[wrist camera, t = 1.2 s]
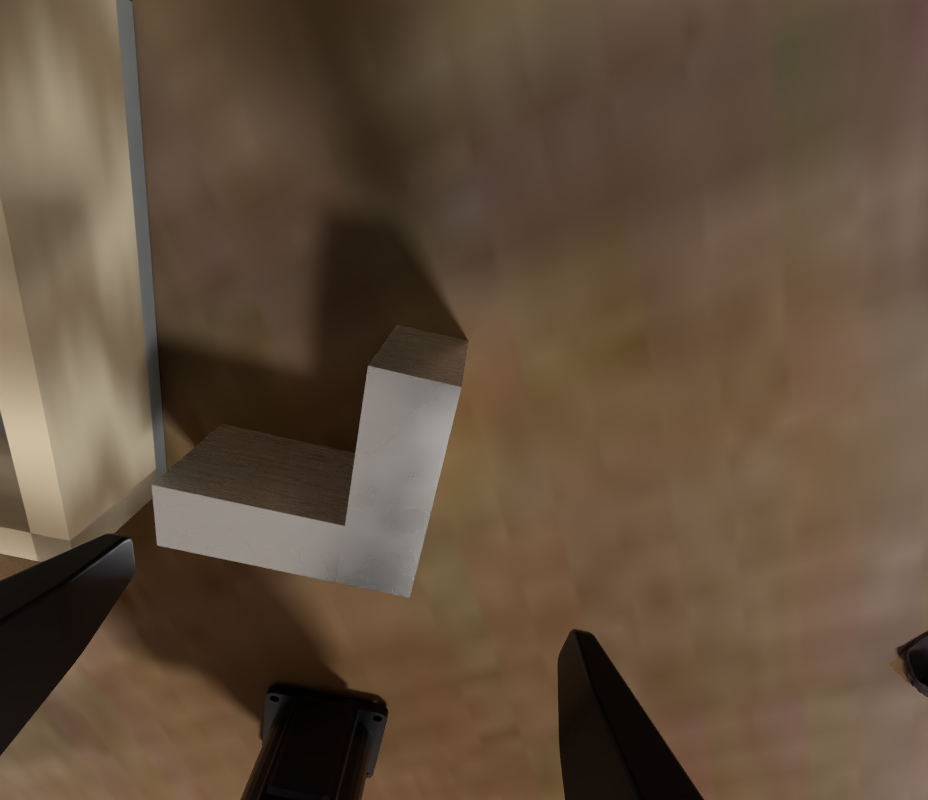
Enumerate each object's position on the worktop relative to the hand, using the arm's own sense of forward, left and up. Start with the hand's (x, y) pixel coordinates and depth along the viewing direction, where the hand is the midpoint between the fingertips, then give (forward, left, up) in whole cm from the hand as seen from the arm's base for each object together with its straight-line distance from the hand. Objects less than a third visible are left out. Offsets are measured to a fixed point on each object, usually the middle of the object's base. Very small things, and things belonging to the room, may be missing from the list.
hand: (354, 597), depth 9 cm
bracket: (-1, +3, -8) cm, 9 cm away
